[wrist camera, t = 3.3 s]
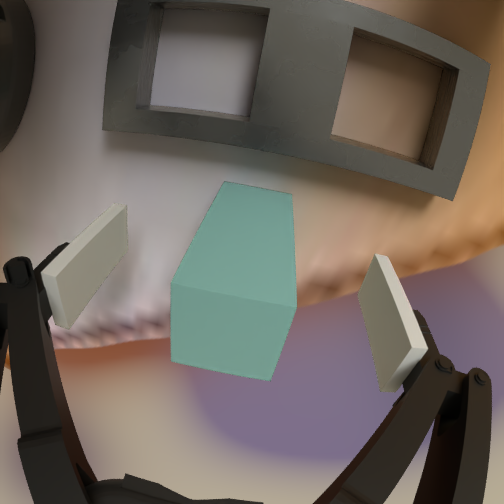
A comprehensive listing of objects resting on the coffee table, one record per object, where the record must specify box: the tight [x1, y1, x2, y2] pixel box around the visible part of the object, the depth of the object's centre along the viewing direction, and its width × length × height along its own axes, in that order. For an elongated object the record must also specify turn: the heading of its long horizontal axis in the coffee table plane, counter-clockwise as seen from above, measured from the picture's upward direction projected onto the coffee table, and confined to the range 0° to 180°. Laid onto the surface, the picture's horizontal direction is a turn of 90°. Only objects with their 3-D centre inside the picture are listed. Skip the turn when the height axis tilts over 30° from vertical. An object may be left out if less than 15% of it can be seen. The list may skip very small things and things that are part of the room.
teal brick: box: [171, 181, 297, 381], centre depth 15 cm, size 4×4×10 cm
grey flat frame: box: [102, 0, 491, 201], centre depth 14 cm, size 20×9×2 cm, turn 80°
